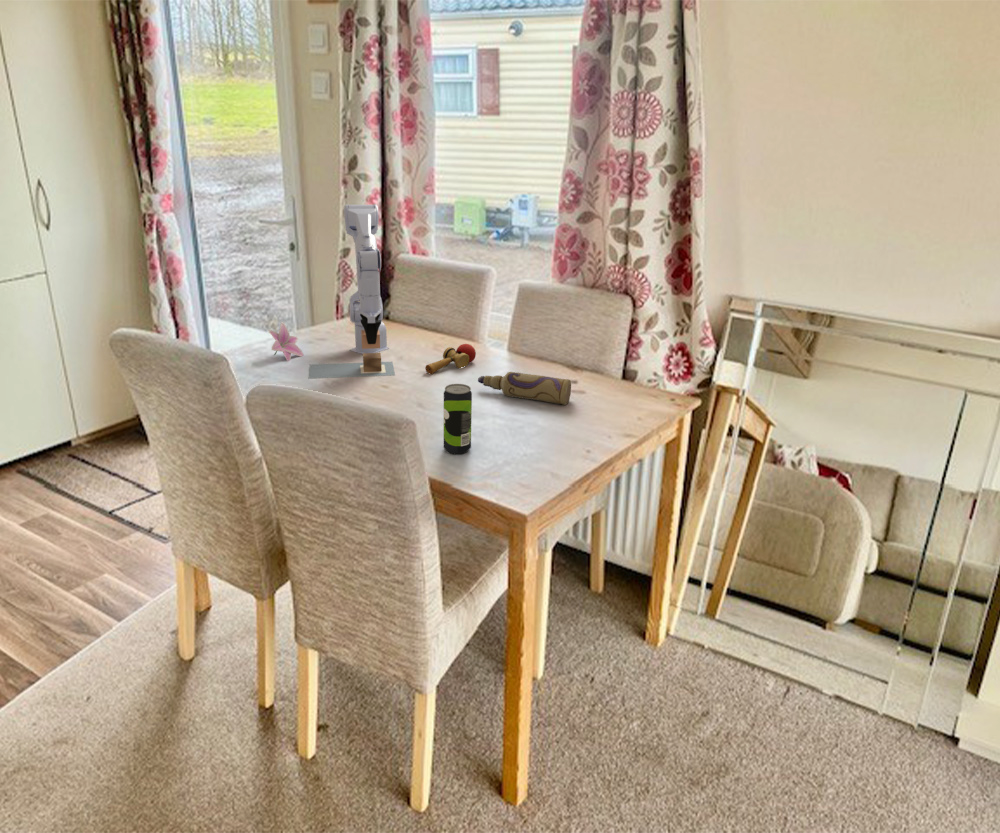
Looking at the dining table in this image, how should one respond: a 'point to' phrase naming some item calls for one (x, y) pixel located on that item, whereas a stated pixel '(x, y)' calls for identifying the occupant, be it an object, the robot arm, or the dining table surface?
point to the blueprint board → (347, 370)
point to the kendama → (453, 358)
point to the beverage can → (457, 418)
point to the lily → (285, 342)
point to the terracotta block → (365, 343)
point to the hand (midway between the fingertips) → (371, 340)
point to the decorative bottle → (530, 386)
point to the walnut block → (372, 362)
